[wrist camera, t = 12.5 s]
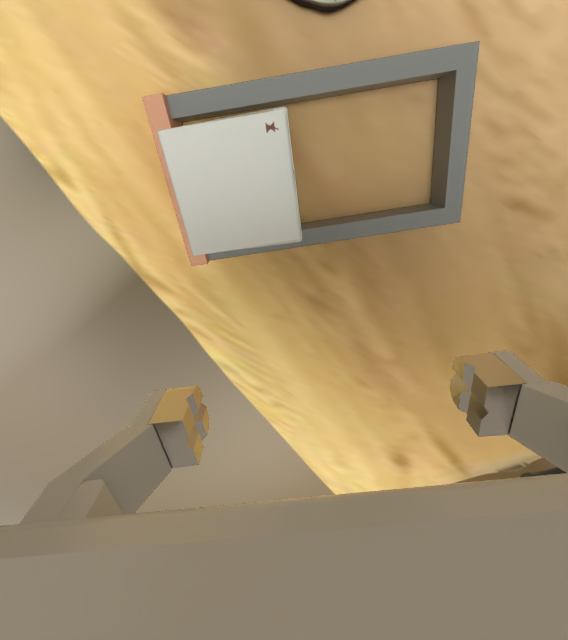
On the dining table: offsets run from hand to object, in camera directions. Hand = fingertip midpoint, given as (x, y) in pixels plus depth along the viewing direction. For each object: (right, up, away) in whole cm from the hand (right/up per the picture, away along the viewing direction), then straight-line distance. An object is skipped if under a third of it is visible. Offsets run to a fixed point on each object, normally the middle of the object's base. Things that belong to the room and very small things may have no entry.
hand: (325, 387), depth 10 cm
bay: (+1, +16, +19) cm, 25 cm away
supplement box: (-5, +16, +19) cm, 25 cm away
